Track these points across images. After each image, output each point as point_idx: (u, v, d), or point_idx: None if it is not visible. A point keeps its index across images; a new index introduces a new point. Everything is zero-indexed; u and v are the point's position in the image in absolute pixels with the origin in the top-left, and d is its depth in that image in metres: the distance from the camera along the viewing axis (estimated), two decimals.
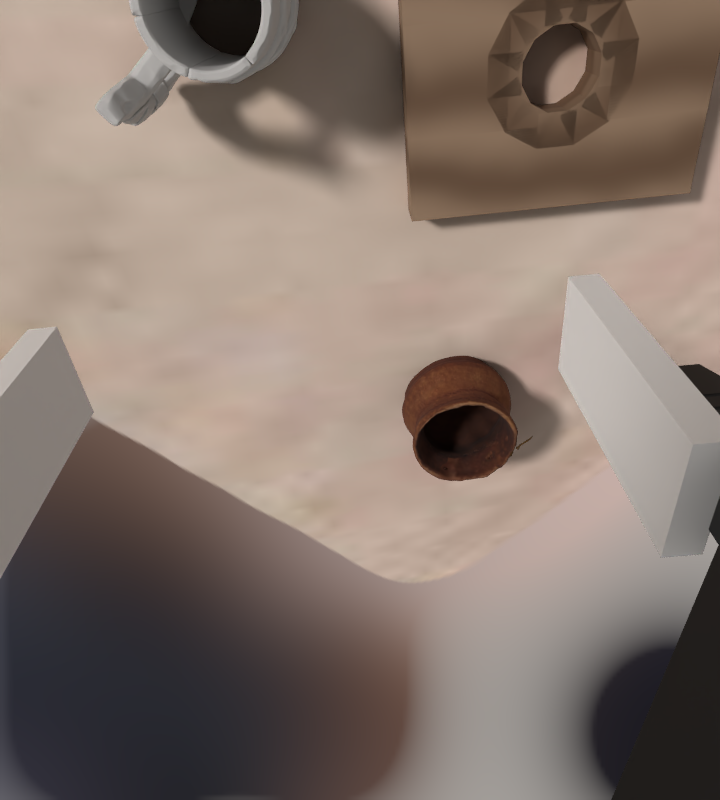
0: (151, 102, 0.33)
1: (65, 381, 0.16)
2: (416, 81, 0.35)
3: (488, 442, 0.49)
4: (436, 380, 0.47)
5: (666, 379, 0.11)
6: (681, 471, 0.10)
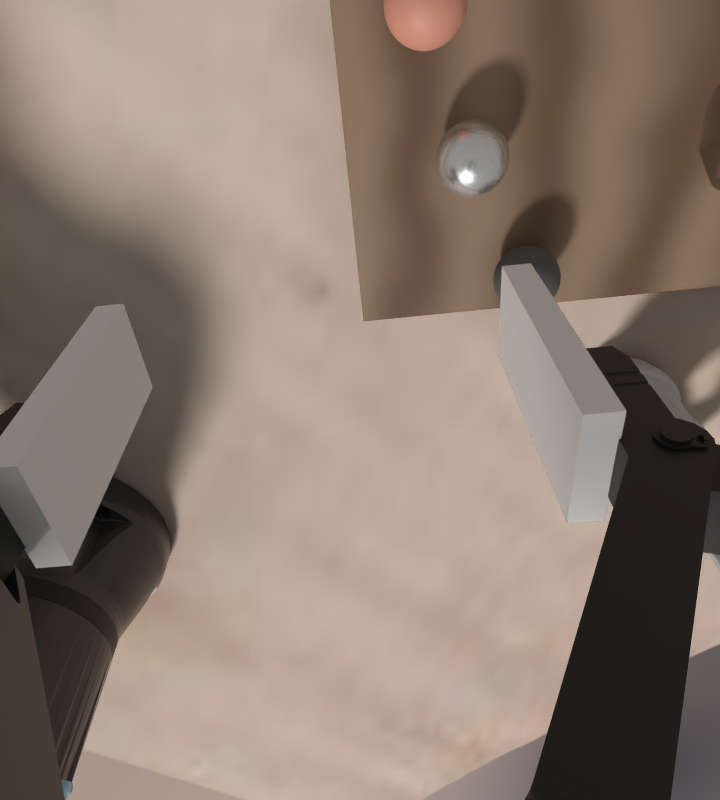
0: None
1: (130, 355, 0.16)
2: None
3: None
4: None
5: (571, 358, 0.12)
6: (576, 441, 0.11)
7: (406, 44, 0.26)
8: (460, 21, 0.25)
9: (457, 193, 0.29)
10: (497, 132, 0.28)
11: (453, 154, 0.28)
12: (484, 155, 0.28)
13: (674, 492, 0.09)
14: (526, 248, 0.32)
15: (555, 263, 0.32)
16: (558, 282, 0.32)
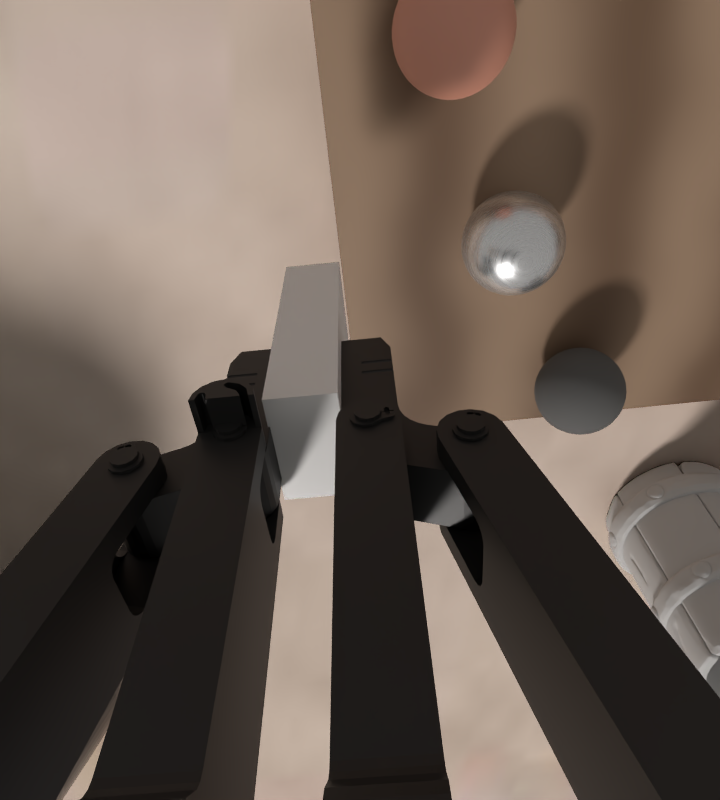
0: None
1: None
2: None
3: None
4: None
5: (320, 347, 0.13)
6: (305, 420, 0.12)
7: (425, 91, 0.18)
8: (506, 58, 0.17)
9: (493, 291, 0.21)
10: (551, 210, 0.20)
11: (490, 242, 0.20)
12: (535, 245, 0.19)
13: (378, 462, 0.10)
14: (581, 354, 0.24)
15: (620, 375, 0.24)
16: None
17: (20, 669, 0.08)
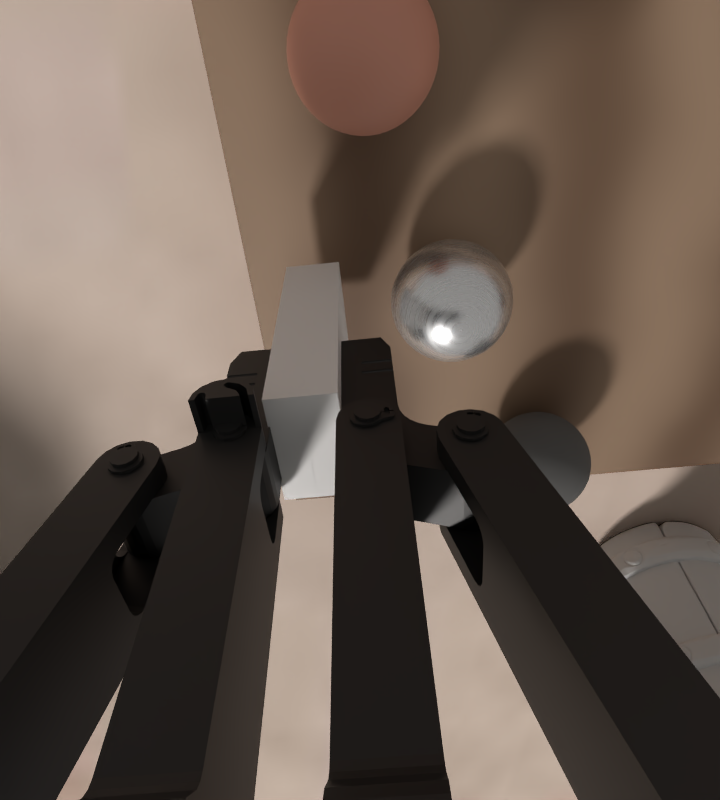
0: None
1: None
2: None
3: None
4: None
5: (320, 347, 0.13)
6: (305, 420, 0.12)
7: (330, 126, 0.14)
8: (426, 88, 0.14)
9: (427, 356, 0.18)
10: (493, 266, 0.16)
11: (418, 304, 0.16)
12: (471, 309, 0.16)
13: (378, 462, 0.10)
14: (538, 423, 0.20)
15: (583, 447, 0.20)
16: (588, 475, 0.20)
17: (20, 669, 0.08)
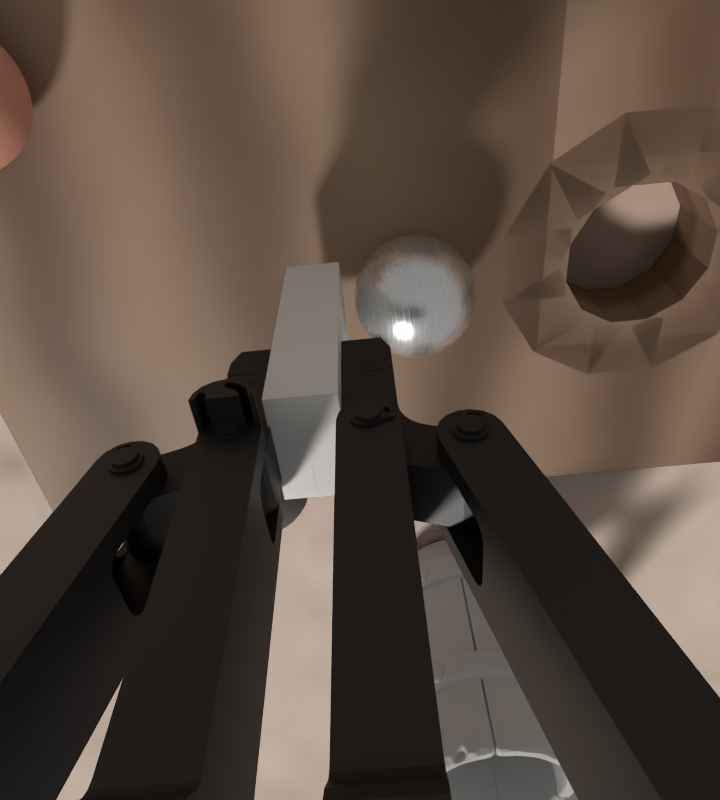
0: None
1: None
2: (597, 459, 0.24)
3: None
4: None
5: (320, 347, 0.13)
6: (305, 420, 0.12)
7: None
8: (1, 133, 0.14)
9: None
10: (403, 277, 0.16)
11: None
12: (362, 297, 0.17)
13: (378, 462, 0.10)
14: None
15: None
16: (299, 499, 0.21)
17: (20, 669, 0.08)
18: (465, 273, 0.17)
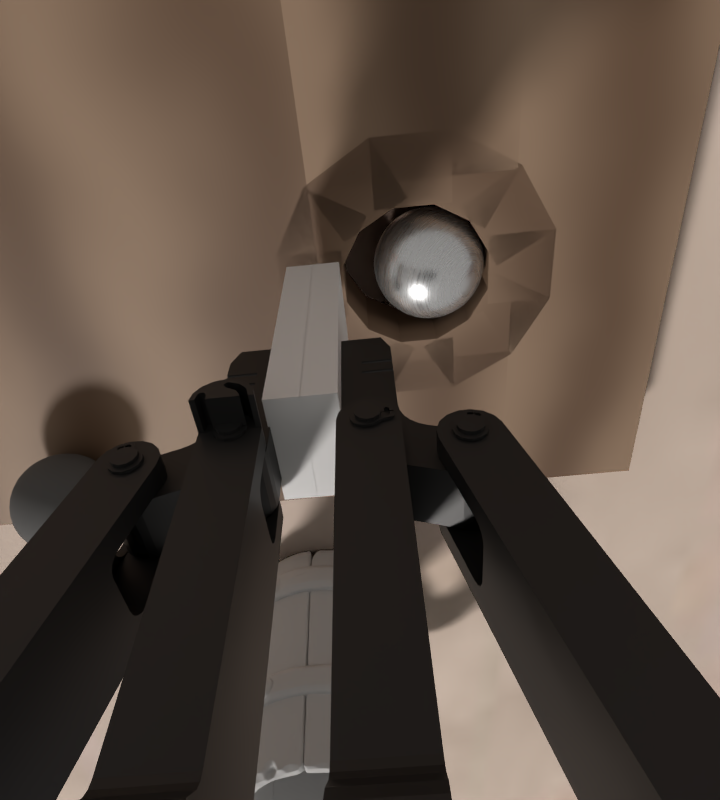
0: None
1: None
2: None
3: None
4: None
5: (320, 347, 0.13)
6: (305, 420, 0.12)
7: None
8: None
9: None
10: (390, 231, 0.19)
11: None
12: None
13: (378, 462, 0.10)
14: (43, 466, 0.21)
15: None
16: None
17: (20, 669, 0.08)
18: (433, 262, 0.18)
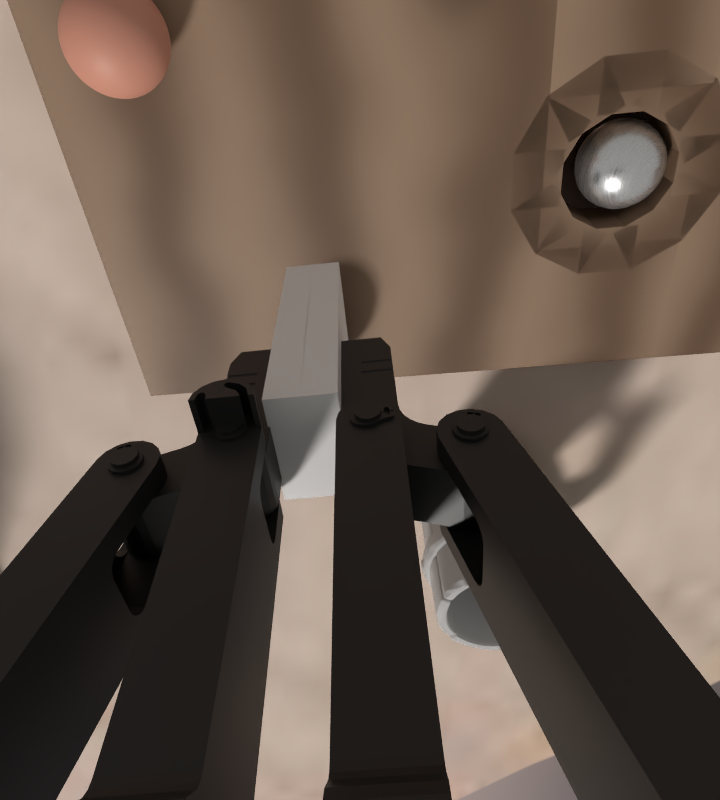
0: None
1: None
2: (587, 351, 0.29)
3: None
4: None
5: (320, 347, 0.13)
6: (305, 420, 0.12)
7: (97, 91, 0.21)
8: (154, 64, 0.20)
9: None
10: (595, 135, 0.24)
11: None
12: None
13: (378, 462, 0.10)
14: None
15: None
16: None
17: (20, 669, 0.08)
18: (630, 157, 0.23)
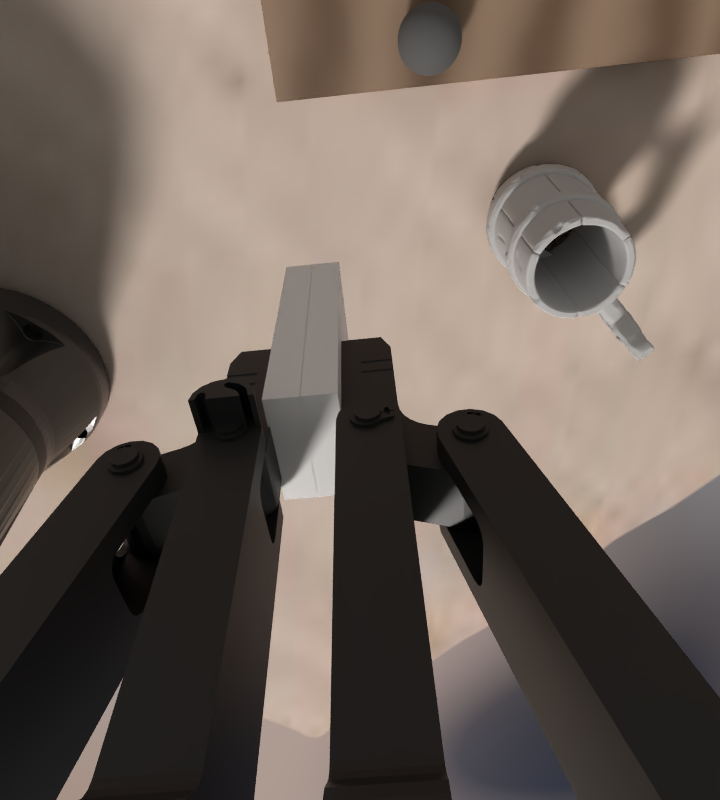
0: None
1: None
2: (647, 49, 0.35)
3: None
4: None
5: (320, 347, 0.13)
6: (305, 420, 0.12)
7: None
8: None
9: None
10: None
11: None
12: None
13: (378, 462, 0.10)
14: (426, 2, 0.32)
15: (454, 16, 0.32)
16: (459, 37, 0.32)
17: (20, 669, 0.08)
18: None
